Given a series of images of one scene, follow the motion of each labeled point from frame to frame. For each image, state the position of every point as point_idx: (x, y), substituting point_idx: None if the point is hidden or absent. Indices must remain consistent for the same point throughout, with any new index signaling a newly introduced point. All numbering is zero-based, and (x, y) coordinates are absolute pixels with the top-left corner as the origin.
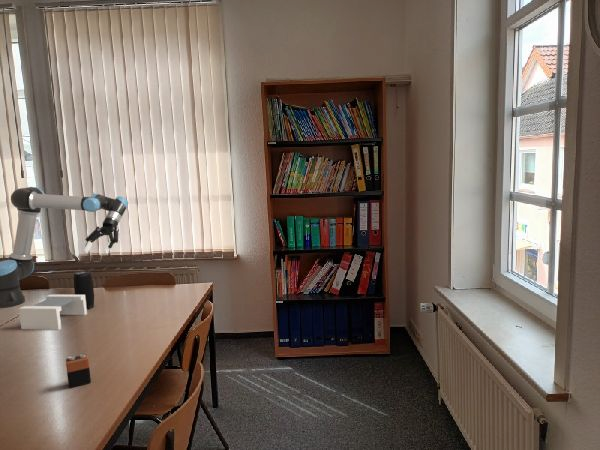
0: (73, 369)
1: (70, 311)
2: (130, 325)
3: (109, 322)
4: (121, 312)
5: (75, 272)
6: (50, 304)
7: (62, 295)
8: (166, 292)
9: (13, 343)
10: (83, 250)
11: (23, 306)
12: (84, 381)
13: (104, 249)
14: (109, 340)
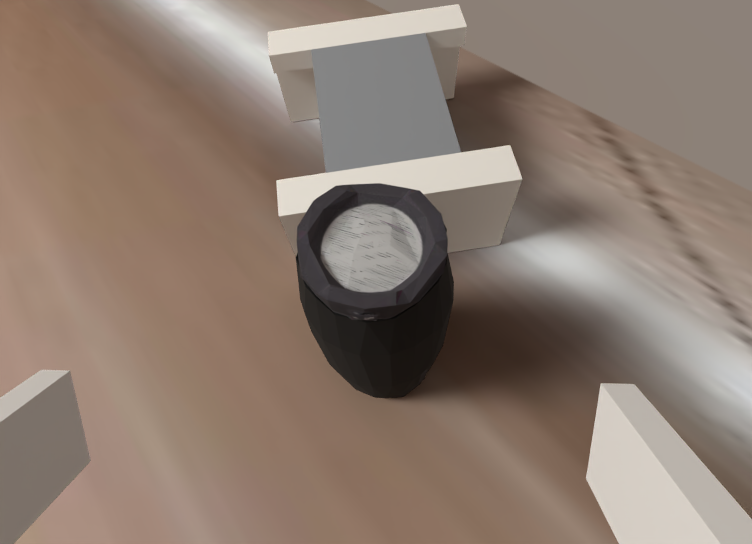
0: None
1: None
2: (6, 198)
3: (118, 207)
4: (121, 329)
5: (419, 206)
6: (348, 62)
7: (419, 177)
8: None
9: (353, 12)
10: (632, 389)
11: (462, 22)
12: None
13: (30, 395)
14: (37, 85)
